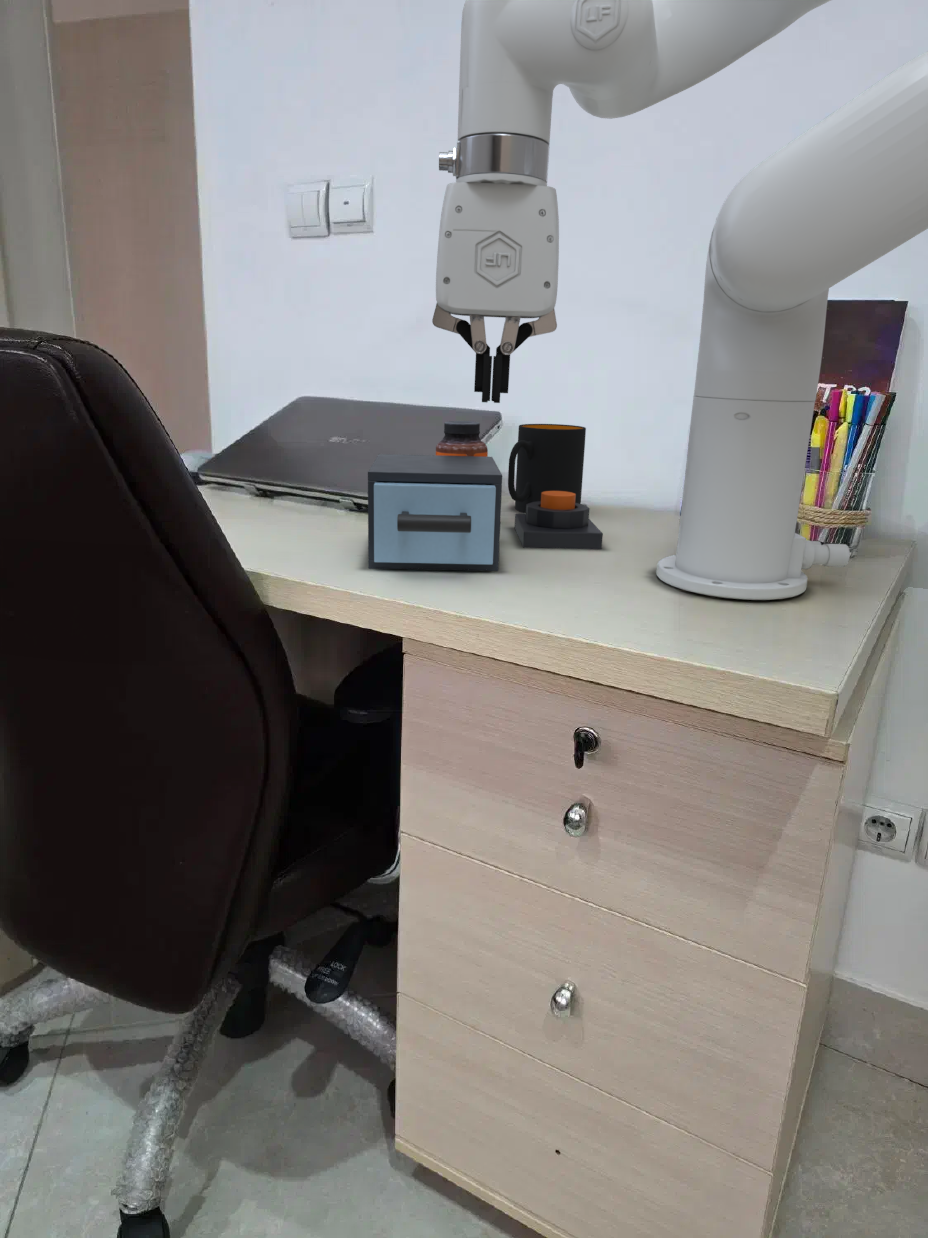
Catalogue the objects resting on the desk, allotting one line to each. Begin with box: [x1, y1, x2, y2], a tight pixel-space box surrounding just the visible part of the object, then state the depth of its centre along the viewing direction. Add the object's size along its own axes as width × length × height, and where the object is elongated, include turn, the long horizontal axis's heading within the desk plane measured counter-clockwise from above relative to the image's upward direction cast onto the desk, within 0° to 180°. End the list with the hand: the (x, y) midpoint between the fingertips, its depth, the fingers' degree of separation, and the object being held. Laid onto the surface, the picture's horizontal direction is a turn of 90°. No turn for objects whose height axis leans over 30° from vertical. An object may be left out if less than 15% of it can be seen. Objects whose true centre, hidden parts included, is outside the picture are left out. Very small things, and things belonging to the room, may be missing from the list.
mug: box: [507, 423, 587, 514], centre depth 102 cm, size 8×12×10 cm
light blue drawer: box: [374, 481, 496, 565], centre depth 75 cm, size 17×10×7 cm, turn 2°
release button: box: [541, 491, 576, 510], centre depth 87 cm, size 4×4×2 cm
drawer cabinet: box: [367, 453, 503, 572], centre depth 79 cm, size 14×12×9 cm
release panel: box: [514, 501, 604, 550], centre depth 88 cm, size 8×10×4 cm
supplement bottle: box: [435, 420, 489, 457], centre depth 94 cm, size 6×6×11 cm
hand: (490, 401), depth 73 cm, fingers closed
